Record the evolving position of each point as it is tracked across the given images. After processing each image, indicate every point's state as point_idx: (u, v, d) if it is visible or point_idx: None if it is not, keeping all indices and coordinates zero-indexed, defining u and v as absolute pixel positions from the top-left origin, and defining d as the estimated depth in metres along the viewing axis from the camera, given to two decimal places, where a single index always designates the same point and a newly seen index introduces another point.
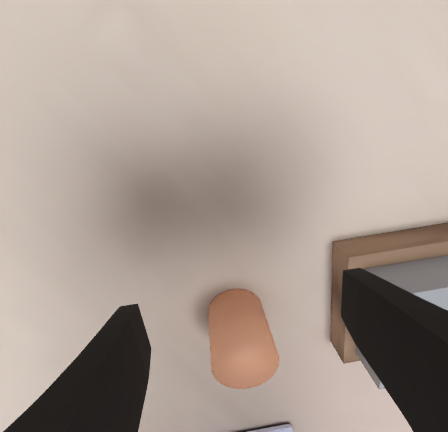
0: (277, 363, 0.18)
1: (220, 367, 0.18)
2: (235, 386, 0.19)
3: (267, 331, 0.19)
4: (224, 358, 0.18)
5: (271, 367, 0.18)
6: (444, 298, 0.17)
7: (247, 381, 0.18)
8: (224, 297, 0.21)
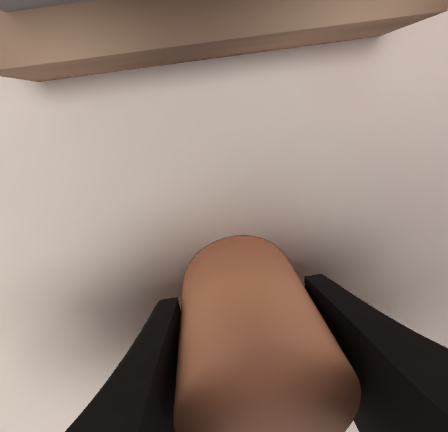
0: (282, 345, 0.06)
1: None
2: (343, 424, 0.07)
3: (203, 325, 0.07)
4: None
5: (295, 358, 0.06)
6: None
7: (333, 403, 0.07)
8: None
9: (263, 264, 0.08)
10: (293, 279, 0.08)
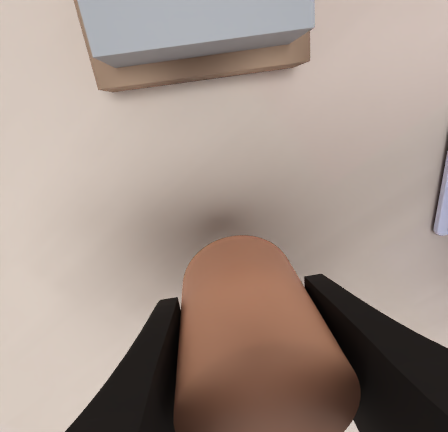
0: (281, 345, 0.06)
1: None
2: (343, 423, 0.07)
3: (203, 325, 0.07)
4: None
5: (294, 357, 0.06)
6: None
7: (333, 402, 0.07)
8: None
9: (263, 264, 0.09)
10: (293, 279, 0.08)
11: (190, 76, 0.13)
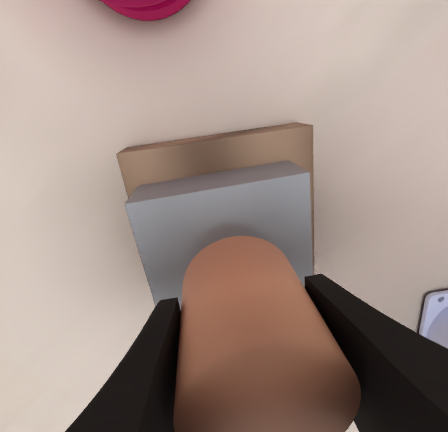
0: (281, 346, 0.06)
1: None
2: (343, 424, 0.07)
3: (203, 326, 0.07)
4: None
5: (294, 358, 0.06)
6: (168, 289, 0.13)
7: (333, 403, 0.07)
8: None
9: (263, 264, 0.08)
10: (293, 279, 0.08)
11: None
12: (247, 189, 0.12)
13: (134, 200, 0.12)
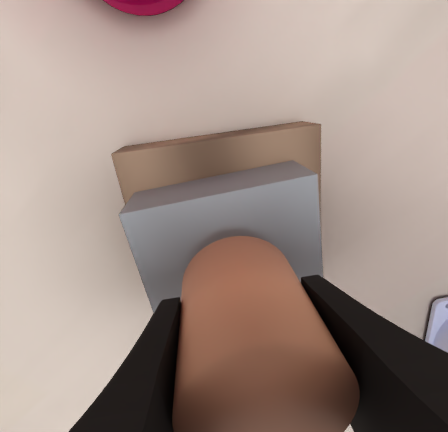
0: (280, 346, 0.06)
1: None
2: (342, 424, 0.07)
3: (202, 326, 0.07)
4: None
5: (293, 358, 0.06)
6: None
7: (331, 403, 0.07)
8: None
9: (262, 264, 0.08)
10: (292, 279, 0.08)
11: None
12: (251, 194, 0.11)
13: (129, 210, 0.11)
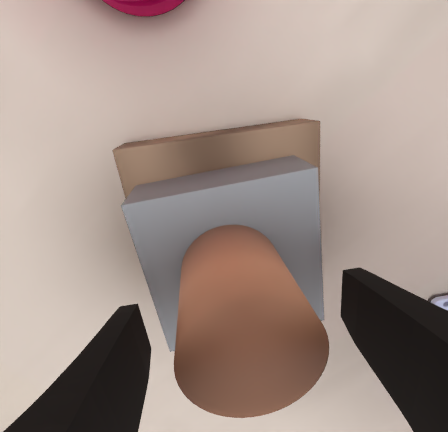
0: (259, 298, 0.07)
1: (253, 404, 0.08)
2: (317, 372, 0.08)
3: (197, 291, 0.08)
4: (229, 400, 0.08)
5: (271, 310, 0.07)
6: (169, 294, 0.13)
7: (306, 351, 0.08)
8: None
9: (248, 245, 0.10)
10: (274, 257, 0.10)
11: None
12: (251, 187, 0.11)
13: (131, 201, 0.11)
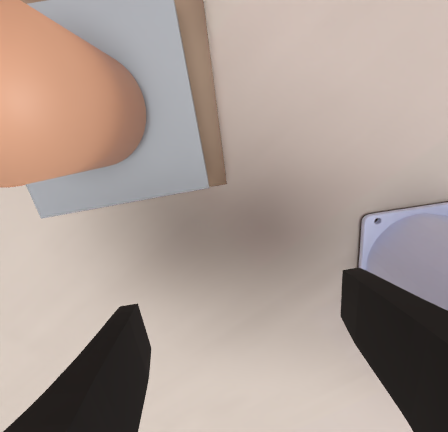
0: None
1: None
2: (66, 126, 0.07)
3: None
4: None
5: None
6: None
7: (45, 87, 0.06)
8: None
9: None
10: (91, 45, 0.08)
11: None
12: (97, 1, 0.10)
13: None
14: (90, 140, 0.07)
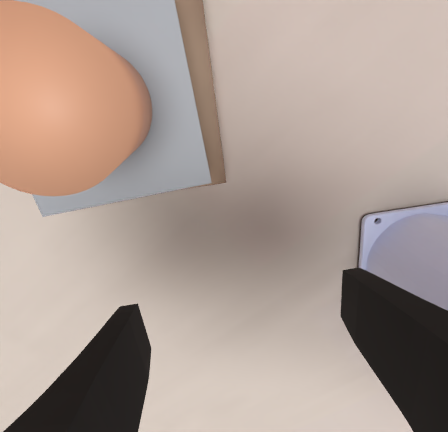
0: (33, 8, 0.06)
1: (43, 176, 0.07)
2: (118, 147, 0.07)
3: None
4: (11, 162, 0.07)
5: (50, 31, 0.06)
6: None
7: (102, 112, 0.07)
8: None
9: None
10: (118, 55, 0.09)
11: None
12: None
13: None
14: (127, 153, 0.08)
